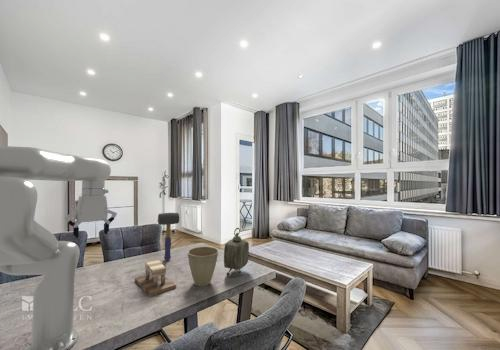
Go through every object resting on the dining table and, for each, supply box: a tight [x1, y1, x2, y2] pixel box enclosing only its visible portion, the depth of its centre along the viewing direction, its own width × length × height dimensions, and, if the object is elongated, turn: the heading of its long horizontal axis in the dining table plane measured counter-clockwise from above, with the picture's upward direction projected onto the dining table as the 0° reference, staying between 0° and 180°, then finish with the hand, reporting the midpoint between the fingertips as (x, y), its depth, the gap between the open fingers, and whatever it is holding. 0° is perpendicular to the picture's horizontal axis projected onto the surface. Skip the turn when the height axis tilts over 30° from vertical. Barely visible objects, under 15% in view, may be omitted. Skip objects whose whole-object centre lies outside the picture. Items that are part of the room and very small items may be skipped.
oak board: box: [144, 259, 167, 277], centre depth 111 cm, size 14×6×3 cm, turn 37°
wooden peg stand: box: [134, 268, 177, 297], centre depth 111 cm, size 20×12×6 cm, turn 44°
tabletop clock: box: [223, 227, 250, 276], centre depth 127 cm, size 14×9×25 cm, turn 159°
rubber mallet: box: [157, 212, 180, 262], centre depth 145 cm, size 12×8×30 cm, turn 119°
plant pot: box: [187, 246, 219, 287], centre depth 114 cm, size 15×15×16 cm
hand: (91, 235), depth 91 cm, fingers open, 9 cm apart
